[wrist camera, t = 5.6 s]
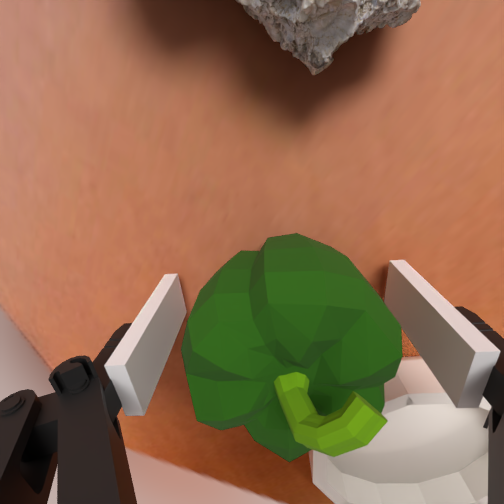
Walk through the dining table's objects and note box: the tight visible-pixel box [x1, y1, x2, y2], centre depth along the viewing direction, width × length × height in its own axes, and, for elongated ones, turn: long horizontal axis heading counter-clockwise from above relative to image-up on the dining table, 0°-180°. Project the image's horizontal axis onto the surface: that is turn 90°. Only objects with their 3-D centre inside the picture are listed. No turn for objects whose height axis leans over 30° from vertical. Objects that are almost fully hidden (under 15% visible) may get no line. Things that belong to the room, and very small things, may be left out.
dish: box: [309, 356, 491, 504], centre depth 20 cm, size 15×15×3 cm
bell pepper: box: [181, 233, 402, 462], centre depth 12 cm, size 8×8×10 cm
